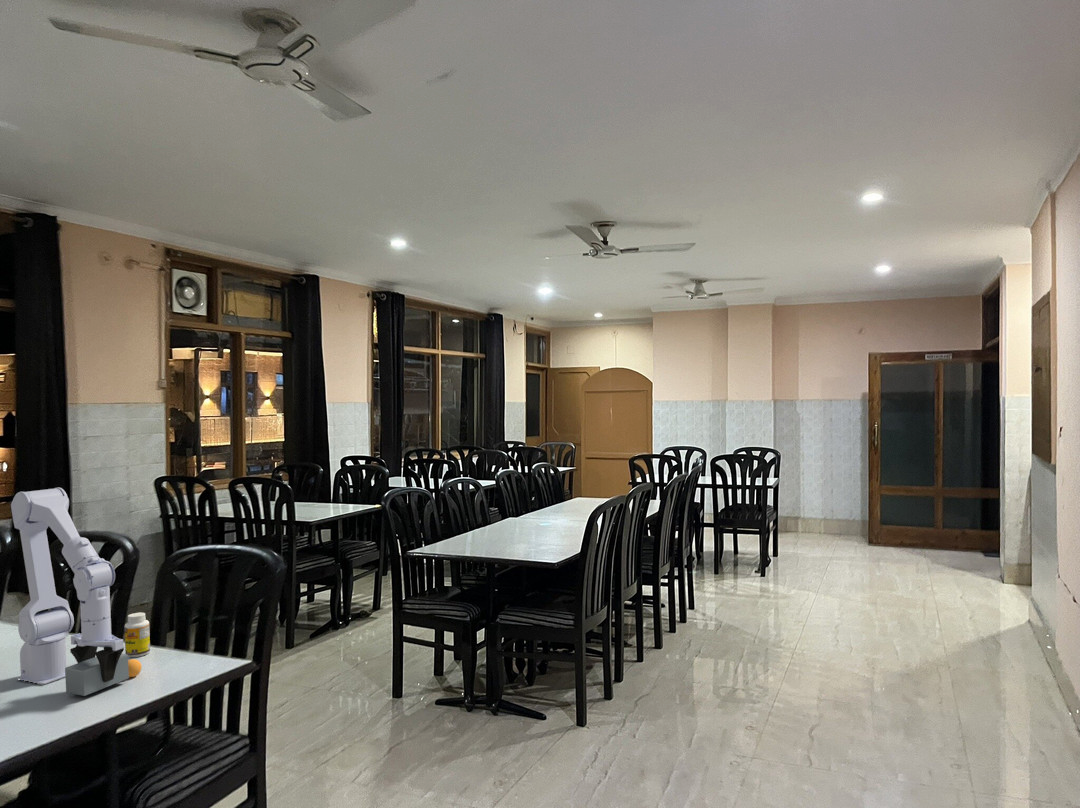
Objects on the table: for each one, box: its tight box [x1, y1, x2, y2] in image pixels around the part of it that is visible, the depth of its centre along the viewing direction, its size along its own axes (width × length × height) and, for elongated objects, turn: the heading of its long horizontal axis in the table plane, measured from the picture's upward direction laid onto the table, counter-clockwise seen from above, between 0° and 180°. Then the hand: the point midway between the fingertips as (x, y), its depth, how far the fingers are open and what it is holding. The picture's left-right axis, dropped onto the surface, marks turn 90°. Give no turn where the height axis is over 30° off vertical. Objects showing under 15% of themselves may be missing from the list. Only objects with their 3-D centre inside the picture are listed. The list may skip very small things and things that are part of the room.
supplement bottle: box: [124, 612, 151, 658], centre depth 195 cm, size 6×6×10 cm
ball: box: [128, 658, 142, 678], centre depth 179 cm, size 4×4×4 cm
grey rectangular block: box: [64, 653, 130, 697], centre depth 171 cm, size 6×11×5 cm, turn 156°
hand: (98, 678), depth 171 cm, fingers closed on grey rectangular block, 6 cm apart
